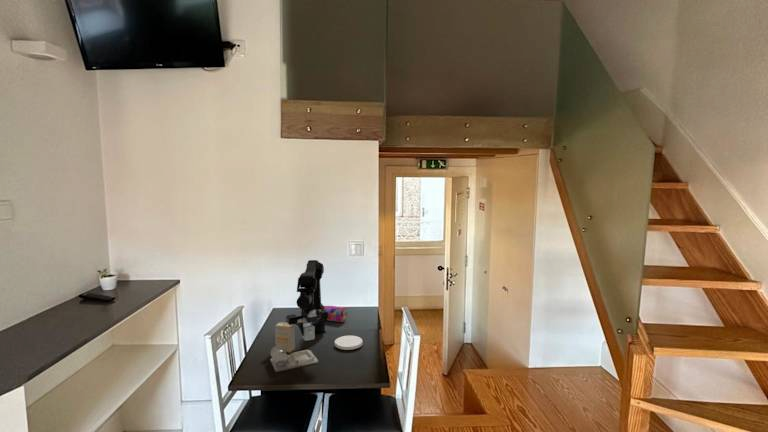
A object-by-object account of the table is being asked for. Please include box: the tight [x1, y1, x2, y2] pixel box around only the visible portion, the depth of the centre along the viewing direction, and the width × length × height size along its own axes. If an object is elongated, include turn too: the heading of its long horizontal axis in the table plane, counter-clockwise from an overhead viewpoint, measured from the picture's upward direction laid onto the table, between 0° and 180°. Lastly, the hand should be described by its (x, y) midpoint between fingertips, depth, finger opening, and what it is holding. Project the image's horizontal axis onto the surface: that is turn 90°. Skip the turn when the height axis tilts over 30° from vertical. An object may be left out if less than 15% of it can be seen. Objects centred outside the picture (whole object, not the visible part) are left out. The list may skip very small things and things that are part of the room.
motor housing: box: [269, 345, 319, 373], centre depth 175 cm, size 19×12×7 cm, turn 118°
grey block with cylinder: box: [300, 322, 316, 342], centre depth 176 cm, size 4×8×6 cm, turn 29°
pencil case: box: [322, 304, 348, 323], centre depth 228 cm, size 22×9×9 cm, turn 69°
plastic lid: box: [334, 335, 363, 351], centre depth 193 cm, size 14×14×2 cm
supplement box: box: [274, 321, 296, 354], centre depth 187 cm, size 8×5×13 cm, turn 71°
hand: (307, 334), depth 177 cm, fingers closed on grey block with cylinder, 4 cm apart
